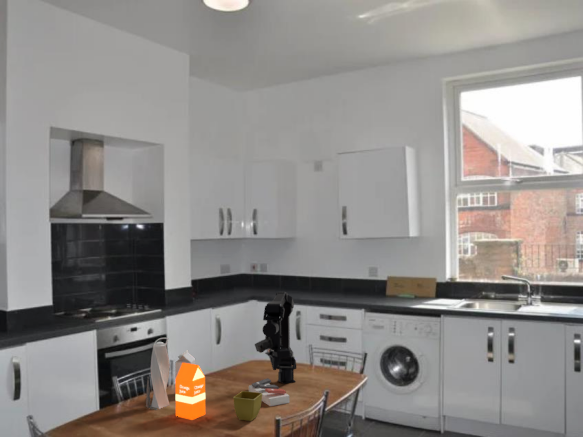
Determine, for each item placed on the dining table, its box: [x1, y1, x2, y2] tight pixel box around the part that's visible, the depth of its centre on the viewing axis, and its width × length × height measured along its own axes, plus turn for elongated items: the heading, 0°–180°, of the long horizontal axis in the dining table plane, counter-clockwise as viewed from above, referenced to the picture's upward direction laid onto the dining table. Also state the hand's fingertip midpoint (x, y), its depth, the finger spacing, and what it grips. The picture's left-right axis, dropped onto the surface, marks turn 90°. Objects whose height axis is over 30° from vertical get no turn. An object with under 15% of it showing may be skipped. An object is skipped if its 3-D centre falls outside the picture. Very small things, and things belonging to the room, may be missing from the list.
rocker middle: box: [258, 384, 280, 389], centre depth 229 cm, size 8×4×1 cm, turn 118°
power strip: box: [248, 383, 290, 407], centre depth 231 cm, size 9×28×3 cm, turn 28°
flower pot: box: [232, 390, 263, 422], centre depth 203 cm, size 9×9×9 cm
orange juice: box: [175, 363, 207, 421], centre depth 208 cm, size 8×9×20 cm
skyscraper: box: [145, 337, 170, 411], centre depth 219 cm, size 8×8×28 cm
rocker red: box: [265, 388, 287, 394], centre depth 223 cm, size 8×4×1 cm, turn 118°
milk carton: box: [174, 349, 197, 389], centre depth 235 cm, size 7×7×19 cm
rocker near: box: [251, 378, 272, 388], centre depth 235 cm, size 8×4×1 cm, turn 118°
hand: (274, 369), depth 226 cm, fingers closed
